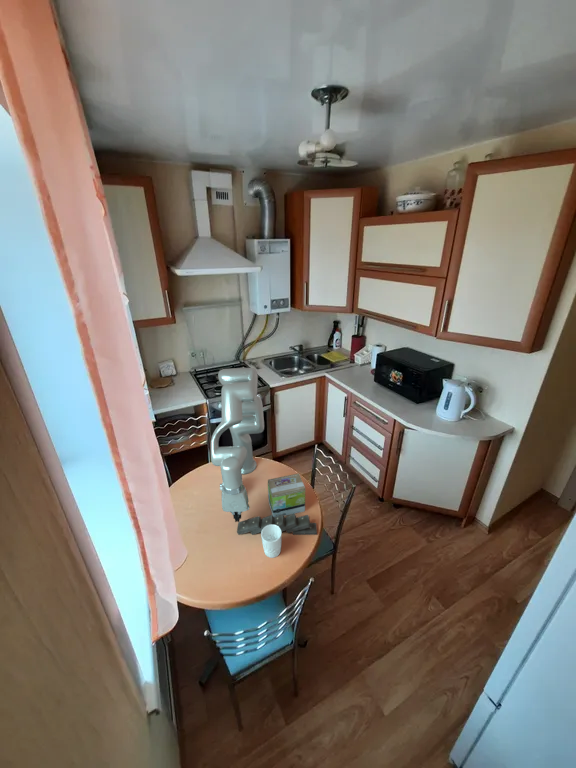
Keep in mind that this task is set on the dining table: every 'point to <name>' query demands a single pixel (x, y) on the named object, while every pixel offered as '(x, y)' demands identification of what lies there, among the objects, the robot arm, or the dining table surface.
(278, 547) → the white cup
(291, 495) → the tea box
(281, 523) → the tile
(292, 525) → the tile
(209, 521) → the dining table surface
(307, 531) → the tile
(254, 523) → the tile
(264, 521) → the tile
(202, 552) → the dining table surface
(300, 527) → the tile
